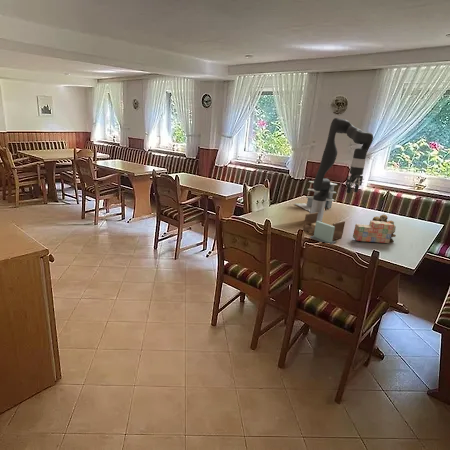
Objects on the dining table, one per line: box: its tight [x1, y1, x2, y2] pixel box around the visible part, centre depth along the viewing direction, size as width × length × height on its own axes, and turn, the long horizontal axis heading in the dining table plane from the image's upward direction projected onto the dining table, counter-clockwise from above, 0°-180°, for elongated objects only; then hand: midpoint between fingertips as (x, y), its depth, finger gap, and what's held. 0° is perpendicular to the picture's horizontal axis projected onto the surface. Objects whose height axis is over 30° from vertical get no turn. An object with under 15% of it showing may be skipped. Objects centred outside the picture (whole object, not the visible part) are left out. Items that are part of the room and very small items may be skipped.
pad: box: [308, 235, 337, 245], centre depth 205 cm, size 14×8×1 cm, turn 39°
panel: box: [313, 221, 335, 243], centre depth 204 cm, size 12×2×10 cm, turn 39°
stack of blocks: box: [352, 220, 395, 244], centre depth 208 cm, size 21×6×12 cm, turn 92°
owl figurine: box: [371, 214, 397, 244], centre depth 214 cm, size 18×12×17 cm, turn 73°
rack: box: [302, 212, 346, 241], centre depth 216 cm, size 22×12×11 cm, turn 39°
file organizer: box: [293, 180, 338, 212], centre depth 288 cm, size 26×35×22 cm
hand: (351, 192), depth 203 cm, fingers open, 8 cm apart
